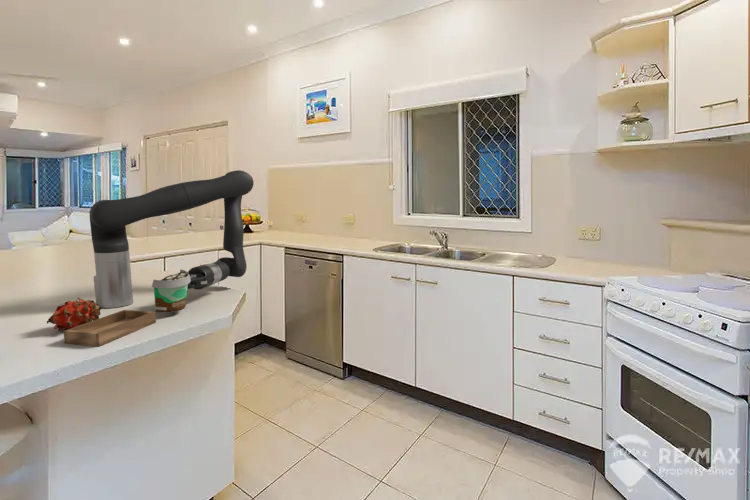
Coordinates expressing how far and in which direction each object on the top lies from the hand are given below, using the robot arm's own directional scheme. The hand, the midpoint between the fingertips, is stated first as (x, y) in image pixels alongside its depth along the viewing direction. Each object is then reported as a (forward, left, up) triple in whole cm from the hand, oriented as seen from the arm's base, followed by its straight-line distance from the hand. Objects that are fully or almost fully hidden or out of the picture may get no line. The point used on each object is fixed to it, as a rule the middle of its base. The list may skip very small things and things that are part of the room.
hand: (169, 287), depth 116 cm
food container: (+2, 0, -6) cm, 7 cm away
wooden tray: (-3, -17, -8) cm, 19 cm away
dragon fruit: (-15, -17, -8) cm, 24 cm away
